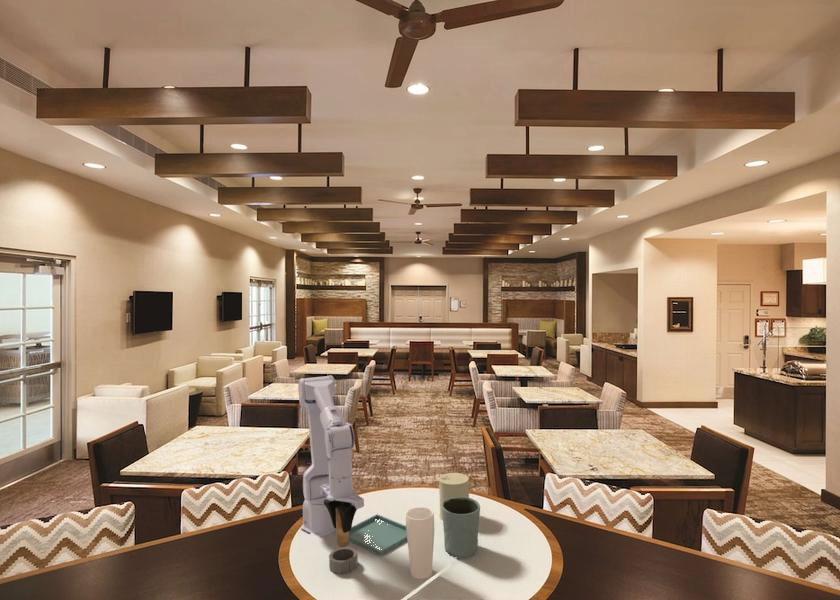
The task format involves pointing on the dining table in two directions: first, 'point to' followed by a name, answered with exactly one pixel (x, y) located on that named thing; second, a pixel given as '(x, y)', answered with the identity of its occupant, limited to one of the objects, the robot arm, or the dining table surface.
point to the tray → (378, 534)
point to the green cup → (461, 526)
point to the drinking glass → (420, 541)
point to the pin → (341, 532)
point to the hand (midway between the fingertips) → (342, 528)
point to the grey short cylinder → (343, 560)
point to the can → (452, 487)
